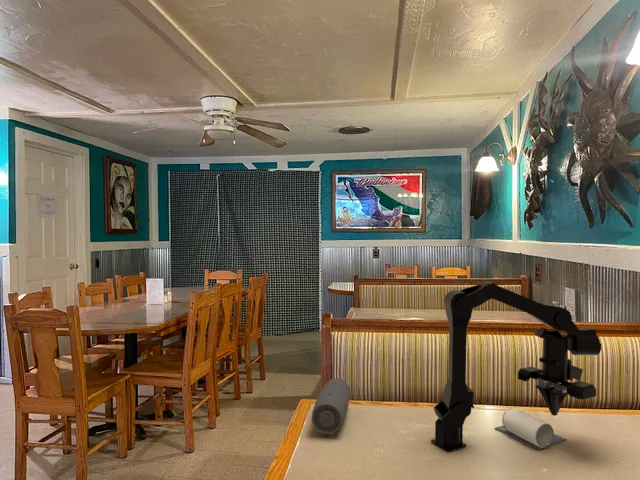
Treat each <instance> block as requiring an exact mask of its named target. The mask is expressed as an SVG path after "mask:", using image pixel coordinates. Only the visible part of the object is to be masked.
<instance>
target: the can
mask: <svg viewBox="0 0 640 480" xmlns="http://www.w3.org/2000/svg"><path fill="white" fill-rule="evenodd" d="M501 422H502V426H503V425H504V427H505V428H507V430H508V431H510V432H511V433H513V434H515V435H517V436H519V437H521V438H523V439H524V440H526V441H528V442H530V443H532V444H534V445H536V446H538V447H540V448H541V449H544V447H545V448H548V447H549V446H548V445H550V443H551V442H552V440H553V436H554V434H555V432H554V428H553V427H552V425H551V423H549V422H547V421H546V420H543V419H541V418H540V417H536V416H535V415H532V414H530V413H527V412H525V411H523V410H520V409H518V408H508V409H507V410H505V412H503V415H502V420H501ZM547 446H548V447H547Z"/></svg>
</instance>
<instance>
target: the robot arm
mask: <svg viewBox="0 0 640 480" xmlns="http://www.w3.org/2000/svg"><path fill="white" fill-rule="evenodd" d="M489 300H494V301H497V302H499V303H501V304H505V305H507V306H508V307H512V308H514V309H517V310H520V311H522V312H524V313H526V314H527V315H529V316H531V317H532V318H534V320H536V321H538V322H540V323H541V324H543V325H545V326H546V327H549V328H551V329H552V330H550V329H549V330H547V328H545V327H542V326H541V327H540V328H539V329H538V330H537V331H535V332H534V336H536V337H538V338H539V339H542V357H541V356H540V357H539V359H538V360H539V363H542V369H540V368H537V367H535V366H527V367H522V368H521V367H520V368H519V370H518V371H517V380H520V381H522V382H529V381H530V380H531V379H533V380H536V381H537V385H535V388H536V389H537V390H538V391H539V393H540V394H541V396H542V398H543V400H544V402H545V404H546V406H547V408H548V410H549V412H550V414H551V416H558V413H559V411H560V409H561V406H562V405H563V403H564V400H565V399H566V397H567V396H569V397H571V398H575V399H578V400H586V399H591V398H594V397H597V388H596V386H595V385H594V384H592V383H589V382H586V381H583V380H581V379H582V375H583V372H584V370H583V369H582V368H580V367H578V366H575V365H573V364H572V359H571V358H568V351H569V352H570V353H571V355H573V356H598V355H600V354H601V352H602V351H601V350H602V343H601V341H600V337H599V335H597V329H595V328H592V327H586V328H578V327H577V325H576V324H575V323H574V321H573V316H572V313H571V312H570V310H568V309H566V308H564V307H561V306H557V305H555V304H551V303H547V302H541V301H536V300H533V299H531V298H528V297H526V296H524V295H521V294H519V293H516V292H513V291H512V290H509V289H506V288H504V287H502V286H500V285H498V284H497V283H494V282H491V281H483V282H481V283H478V284H476V285H472V286H469V287H464V288H463V289H460V290H458V289H454V290H450V291H448V292H447V293H446V294H445V296H444V298H443V303H444V308H445V314H446V319H447V322H448V326H449V327H448V328H449V329H448V368H447V369H448V373H447V375H448V376H447V377H448V379H447V381H446V383H445V385H444V389H443V394H442V399H441V400H440V401H439V402H437V404H435V406H433V411H434V413H435V416H437V419H436V420H435V422H434V425H435V428H434V429H435V433H434V436H435V437H434V438H433V439H431V440H430V443H432V444H434V445H435V446H436V447H438V448H440V449H442V450H443V451H445V452H447V453H449V452H454V451H456V450H460V449H464V448H467V444H466V443H464V442H463V440H464V439H463V438H464V437H463V436H464V435H463V431H464V423H465V421H466V419H467V417H469V416H470V415H471V413H472V409H474V408H475V406H474V397H475V396H474V395H475V392H474V390H472V388H470V387H469V385H468V384H467V339H468V338H467V334H468V331H467V329H468V326H469V323H470V321H471V318H472V314H473V309H475V308H477V307H479V306H481V305H482V304H484V303H485V302H486V303H487V301H489ZM553 329H554V330H553ZM560 331H561V332H564V333H561V332H560ZM574 379H575V381H573V380H574ZM570 381H573V382H570Z"/></svg>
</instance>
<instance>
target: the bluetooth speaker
mask: <svg viewBox="0 0 640 480" xmlns="http://www.w3.org/2000/svg"><path fill="white" fill-rule="evenodd" d="M350 398H351V390H350V387H349V385H348V383H347V382H346V381H345V380H343V379H341V378H331V379H329V380H328V381H327V382H326V383H325V384H324V386H323V387H322V388H321V390H320V392H319V394H318V396H317V398H316V401H315V402H314V403H315V404H314V405H313V409H312V412H311V423H312V426H313V427H314V429H315V430H316V431H317V432H318V433H321V434H325V435H331V434H332V435H333V434H335V433H337V432H338V431H339V430H340V428H341V427H342V426H343V423H344V421H345V418H346V415H347V411H348V408H349V404H350Z"/></svg>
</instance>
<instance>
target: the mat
mask: <svg viewBox="0 0 640 480" xmlns="http://www.w3.org/2000/svg"><path fill="white" fill-rule="evenodd" d="M494 430H496V431H498V432H500V433H502V434H504V435H506V436H509V437H511V438H513V439H515V440H518V441H519V442H521V443H524V444H526V445H528V446H530V447H532V448H534V449H536V450H542V448H540V447H538V446H536V445H534V444H532V443H530V442H528V441H526V440H524V439H523V438H521V437H519V436H517V435H515V434H513V433H511V432H510V431H508V430H507V428H505V427H504V425H503V424H502V425H499V426H496V427H494ZM566 441H567V438H565V437H563V436H560V435H558V434H555V433H554V436H553V440H552V442H551V443H550V445H548V446H547V447H544V448H548V447H551V446H553V445H557V444H560V443H562V442H566ZM544 448H543V449H544Z"/></svg>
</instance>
